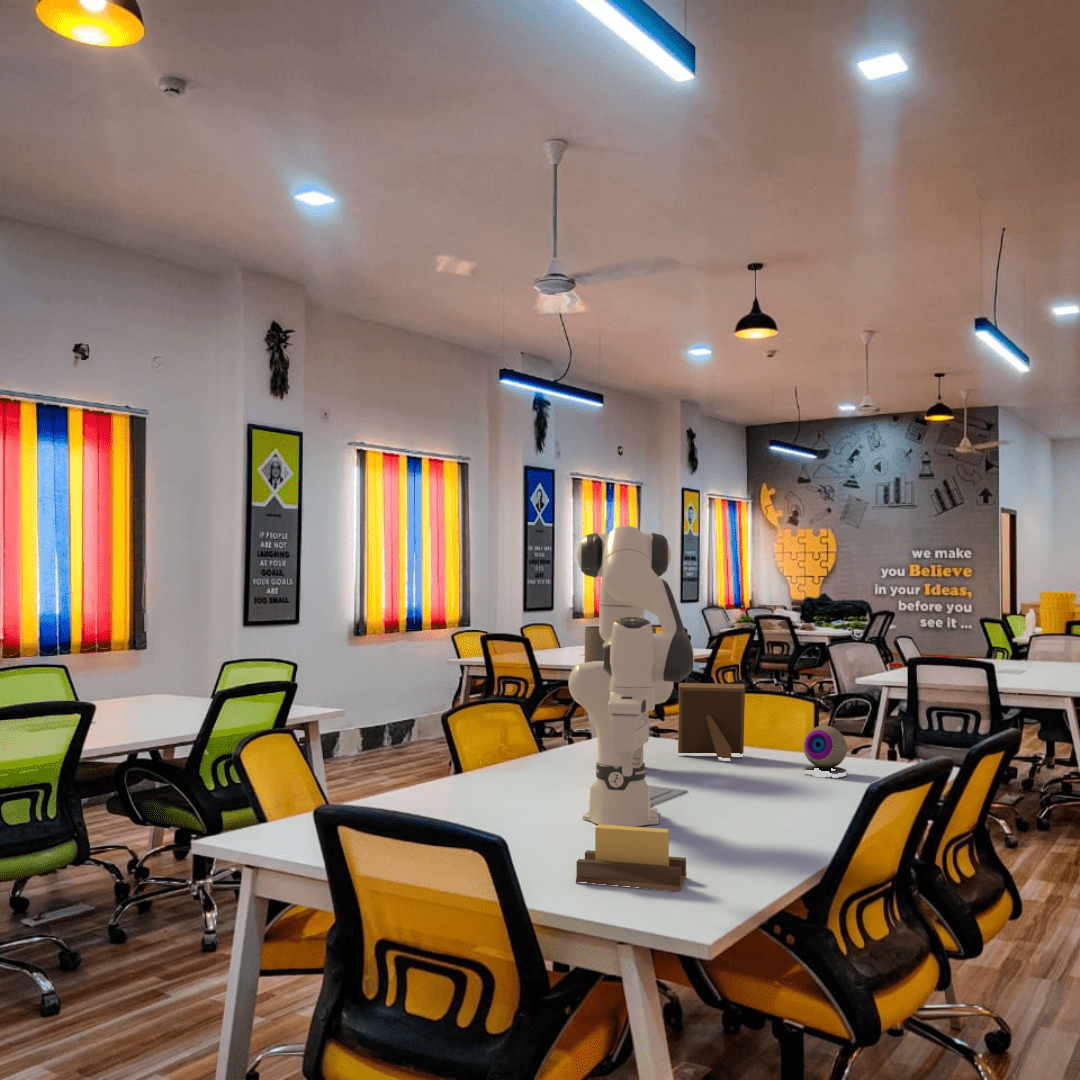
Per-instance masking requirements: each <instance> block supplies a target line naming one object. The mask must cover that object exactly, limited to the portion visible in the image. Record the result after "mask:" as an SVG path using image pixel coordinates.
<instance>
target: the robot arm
mask: <svg viewBox="0 0 1080 1080" xmlns="http://www.w3.org/2000/svg"><path fill="white" fill-rule="evenodd" d="M576 557H577V563H578V565H579V568H580V571H581V572H582V573H583V574H584V576H588V577H591V578H597V577H601V582H600V587H599V588H600V590H599V604H598V605H599V606H598V607H599V611H598V613H599V614H598V616H599V618H598V621H599V622H598V626H599V633H600V636H601V638H602V639H603V640H604V641H605V642H604V643H603V648H604V661H593V662H587V663H585V662H582V663H579V664H576V665H575V666H574V667H573V668H572V669H571V672H570V674H569V677H568V681H567V682H568V689H569V690H568V691H569V693H570V695H571V697H572V699H573V700H574V702H576V703H577V704H579V705H580V706H581V707H582V708H583V709H584V710H585V711H586V712H587V714H588V715H589V717H590V718H591V720H592V722H593V724H594V727H595V731H596V738H597V739H596V741H597V756H598V757H597V760H598V761H597V762H596V764H595V765H596V766H595V777H596V780H595V781H594V782H593V783H592V784H591V785H590V786H589V787H590V788H589V800H588V801H589V802H588V803H589V805H588V806H589V807H588V812H585V813H583V815H582V820H585V821H589V822H591V823H593V824H596V825H599V824H600V825H615V826H630V827H642V826H643V827H644V826H647V825H648V826H649V825H658V824H660V821H659V820H660V819H659V814H658V809H657V808H656V807H654V803H653V802H651V789H650V788H649V786H648V784H647V782H646V777H647V776H646V769H647V768H646V764H645V762H644V745H645V744H646V743H648V741H649V739H650V722H649V721H650V718H649V716H650V715H649V712H652V711H654V710H655V707H656V705H659V704H663V703H666V702H667V701H668V700H669V698H670V697H671V695H672V694H673V689H674V683H678V684H679V683H682V681H683V680H684V679H686V678H687V677H688V676H689V675H690V674H692V672H693V670H694V665H695V653H694V648H693V646H692V643H691V640H690V637H689V635H688V634H687V632H686V630H685V627H684V623H683V621H682V618H681V615H680V611H679V608H678V605H677V602H676V600H675V597H674V594H673V592H672V589H671V587H670V585H669V583H668V581H666V580H665V579H663V578H661V576H663V575H664V574H665V573H666V572H667V571H668V567H669V565H670V563H671V558H672V551H671V547H670V544H669V543H668V539H667V538H666V537H665V535H663V534H659V533H657V532H656V533H655V532H650V533H646V532H642V530H641V529H639V528H637V527H634V526H631V525H621V526H617V527H615V528H613V529H612V530H611V531H610V532H606V533H599V534H598V533H597V532H594V533H589V534H587V535H584V536H583V538H581V541H580V543H579V544H578V548H577V554H576ZM645 611H647V612H650V613H651V614H653V615H655V616H656V617H657V618H658V620H659V623H660V627H661V630H662V632H660V633H659V632H658V633H657V632H656V633H653V631H652V623H651V621H650V620H648V619H646V618H645Z"/></svg>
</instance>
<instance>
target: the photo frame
mask: <svg viewBox="0 0 1080 1080" xmlns="http://www.w3.org/2000/svg"><path fill="white" fill-rule="evenodd" d="M745 697H746V687H745V683H712V682H710V683H708V682H707V683H706V682H704V683H701V682H697V683H696V682H693V683H692V682H679V683H678V714H677V715H678V720H677V722H678V725H677V726H678V728H677V729H678V730H677V731H678V732H677V734H678V735H677V754H678V753H716V754H717V757H722V758H731V753H740V754H742V753H743V754H744V748H745V747H744V744H745V743H744V742H745V710H746V709H745V707H746V706H745V705H746V698H745ZM717 757H716V758H717ZM731 759H732V758H731Z"/></svg>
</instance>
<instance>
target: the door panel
mask: <svg viewBox="0 0 1080 1080" xmlns="http://www.w3.org/2000/svg"><path fill="white" fill-rule="evenodd" d="M594 834H595V835H594V838H595V840H594V841H595V842H594V845H595V846H594V847H595V848H594V851H595V860H600V861H613V862H625V863H638V864H651V865H664V866H669V857H670V829H669V828H659V827H658V828H657V827H644V826H643V827H642V826H636V827H630V826H615V825H600V824H597V825H596V826H595V830H594Z"/></svg>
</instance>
